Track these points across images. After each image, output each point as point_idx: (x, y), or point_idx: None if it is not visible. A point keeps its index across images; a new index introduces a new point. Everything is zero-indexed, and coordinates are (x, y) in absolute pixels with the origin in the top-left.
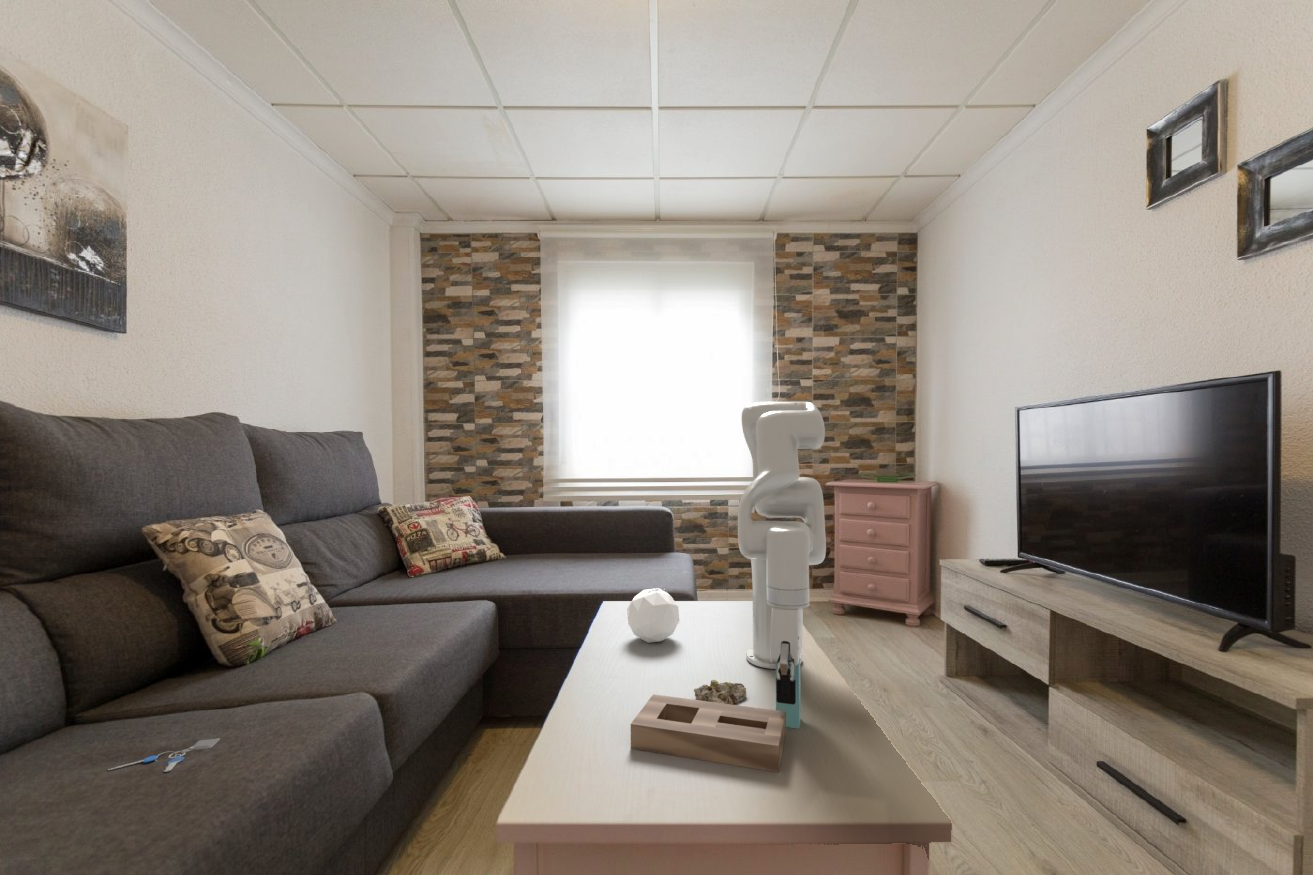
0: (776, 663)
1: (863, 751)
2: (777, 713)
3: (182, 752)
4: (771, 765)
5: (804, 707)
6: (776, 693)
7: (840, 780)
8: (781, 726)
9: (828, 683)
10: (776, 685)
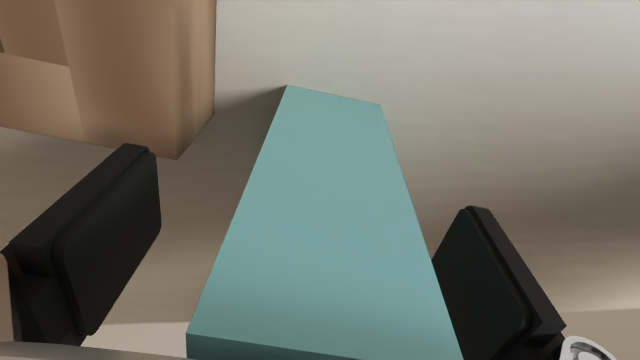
0: (189, 339)
1: (183, 288)
2: (139, 118)
3: None
4: None
5: (447, 204)
6: (98, 166)
7: (8, 220)
8: (1, 121)
9: (621, 294)
10: (55, 203)
